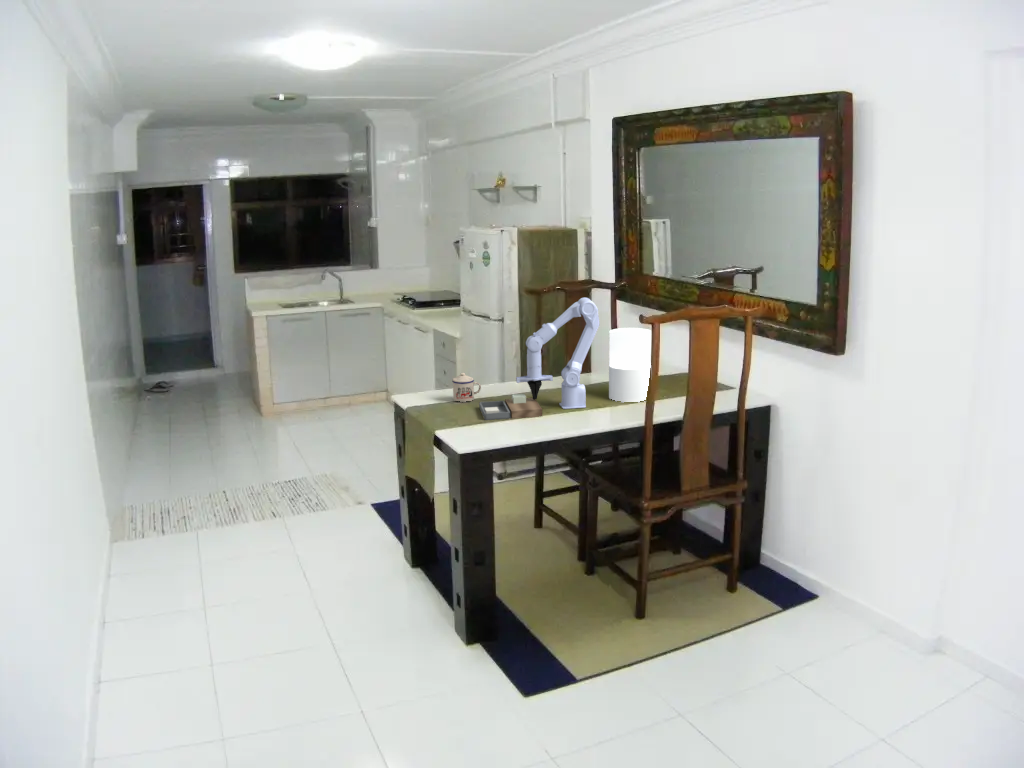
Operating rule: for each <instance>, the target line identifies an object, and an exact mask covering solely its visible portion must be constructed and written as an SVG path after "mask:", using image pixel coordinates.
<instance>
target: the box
mask: <svg viewBox="0 0 1024 768" xmlns="http://www.w3.org/2000/svg"><path fill="white" fill-rule="evenodd" d="M478 404H479V407H478V408H479V410H480V413H481V412H482V413H481V415H482V417H483V419H484V421H492V420H493V421H495V419H497V420H509V419H510V420H511V419H512V418H511V416H510V411H509V409H508V407H507V406H506V404H505V400H495V401H493V400H491V401H479V402H478ZM489 407H497V408H498V409H499V413H486V412H485V408H489Z"/></svg>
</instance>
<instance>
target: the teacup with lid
mask: <svg viewBox="0 0 1024 768" xmlns="http://www.w3.org/2000/svg"><path fill="white" fill-rule="evenodd" d="M474 385H478V386H479V387H478V390H477V391H475V389H474ZM452 389H453V390H452V394H453V396H452V397H453V401H454V400H455V401H460V402H459V403H462V402H463V403H467V402H466V401H471V402H473V401H474V400H475V395H477V394H479V393H480V391H481V390H482V384H480V382H477V381H475V379H474V377H472V376H469V375H466V373H465V372H461V373H460V374H459V375H457V376H456V377H453V378H452ZM472 400H473V401H472ZM455 401H454V402H455Z"/></svg>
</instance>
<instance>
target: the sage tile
mask: <svg viewBox="0 0 1024 768" xmlns="http://www.w3.org/2000/svg"><path fill="white" fill-rule="evenodd" d="M526 398H527V396H526V395H525V393H514V394H511V399H512V401H513V403H514V404H515V403H526Z"/></svg>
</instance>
